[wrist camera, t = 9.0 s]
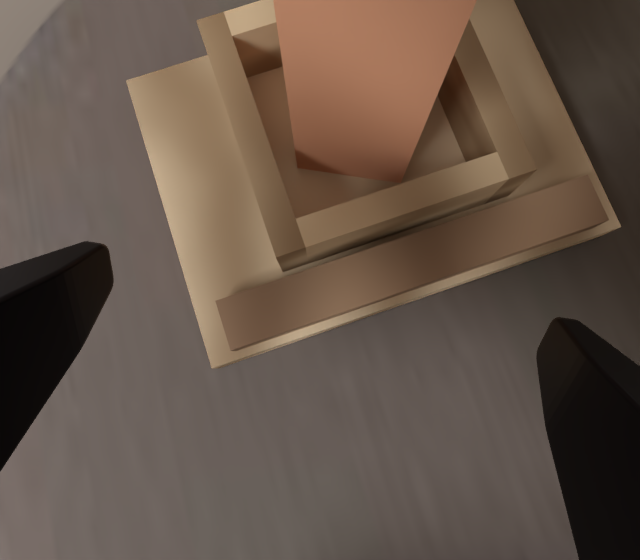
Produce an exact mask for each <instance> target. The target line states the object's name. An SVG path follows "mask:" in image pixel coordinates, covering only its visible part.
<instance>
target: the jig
mask: <svg viewBox="0 0 640 560" xmlns="http://www.w3.org/2000/svg"><path fill="white" fill-rule="evenodd" d="M196 21H197V24H198V27H199V30H200V33H201V36H202V39H203V42H204V45H205V48H206V51H207V54H208V55H206V56H203V57H200V58H196V59H193V60H190V61H187V62H184V63H180V64H177V65H174V66H171V67H168V68H165V69H161V70H158V71H155V72H152V73H149V74H145V75H142V76H139V77H136V78H133V79H130V80H126V82H127V85H128V89H129V92H130V95H131V99H132V102H133V105H134V109H135V112H136V115H137V119H138V122H139V125H140V129H141V132H142V136H143V139H144V142H145V146H146V149H147V152H148V156H149V159H150V162H151V166H152V169H153V173H154V176H155V179H156V183H157V186H158V189H159V193H160V196H161V199H162V203H163V206H164V209H165V213H166V216H167V220H168V223H169V226H170V230H171V233H172V236H173V240H174V243H175V246H176V250H177V253H178V256H179V260H180V263H181V267H182V270H183V273H184V277H185V280H186V283H187V287H188V290H189V293H190V297H191V300H192V304H193V307H194V310H195V314H196V317H197V320H198V324H199V327H200V330H201V334H202V337H203V340H204V344H205V347H206V351H207V354H208V357H209V361H210V364H211V367H212V369H213V368H221V367H224V366H227V365H230V364H233V363H236V362H239V361H242V360H244V359H247V358H250V357H253V356H256V355H259V354H262V353H265V352H268V351H270V350H273V349H276V348H279V347H282V346H285V345H288V344H291V343H294V342H296V341H299V340H302V339H305V338H308V337H311V336H314V335H317V334H320V333H322V332H325V331H328V330H331V329H334V328H337V327H340V326H343V325H346V324H348V323H351V322H354V321H357V320H360V319H363V318H366V317H369V316H372V315H374V314H377V313H380V312H383V311H386V310H389V309H392V308H395V307H398V306H400V305H403V304H406V303H409V302H412V301H415V300H418V299H421V298H424V297H426V296H429V295H432V294H435V293H438V292H441V291H444V290H447V289H450V288H452V287H455V286H458V285H461V284H464V283H467V282H470V281H473V280H476V279H478V278H481V277H484V276H487V275H490V274H493V273H496V272H499V271H502V270H504V269H507V268H510V267H513V266H516V265H519V264H522V263H525V262H528V261H530V260H533V259H536V258H539V257H542V256H545V255H548V254H551V253H554V252H556V251H559V250H562V249H565V248H568V247H571V246H574V245H577V244H580V243H582V242H585V241H588V240H591V239H594V238H597V237H600V236H603V235H605V234H607V233H609V232H611V231H614V230H616V229H618V228H620V227H621V225H620V223H619V221H618V219H617V217H616V214H615V212H614V210H613V208H612V206H611V204H610V202H609V200H608V198H607V195H606V193H605V191H604V189H603V187H602V185H601V183H600V181H599V179H598V177H597V174H596V172H595V170H594V168H593V166H592V164H591V162H590V160H589V158H588V155H587V153H586V151H585V149H584V147H583V145H582V143H581V141H580V139H579V137H578V134H577V132H576V130H575V128H574V126H573V124H572V122H571V120H570V118H569V115H568V113H567V111H566V109H565V107H564V105H563V103H562V101H561V99H560V96H559V94H558V92H557V90H556V88H555V86H554V84H553V82H552V80H551V78H550V75H549V73H548V71H547V69H546V67H545V65H544V63H543V61H542V59H541V56H540V54H539V52H538V50H537V48H536V46H535V44H534V42H533V40H532V38H531V35H530V33H529V31H528V29H527V27H526V25H525V23H524V21H523V19H522V16H521V14H520V12H519V10H518V8H517V6H516V4H515V2H514V0H477V1H476V3H475V6H474V8H473V11H472V13H471V16H470V18H469V20H468V23H467V25H466V28H465V30H464V32H463V35H462V37H461V40H460V42H459V44H458V47H457V49H456V52H455V54H454V56H453V59H452V61H451V64H450V66H449V68H448V71H447V73H446V76H445V78H444V80H443V83H442V85H441V88H440V90H439V92H438V95H437V97H436V100H435V102H434V104H433V107H432V109H431V112H430V114H429V116H428V119H427V121H426V124H425V126H424V128H423V131H422V133H421V136H420V138H419V140H418V143H417V145H416V148H415V150H414V152H413V155H412V157H411V160H410V162H409V164H408V167H407V169H406V172H405V174H404V176H403V179H402V181H401V183H396V182H389V181H382V180H375V179H368V178H362V177H355V176H348V175H341V174H334V173H328V172H321V171H314V170H307V169H300V168H297V161H296V154H295V147H294V140H293V134H292V127H291V120H290V113H289V106H288V99H287V92H286V85H285V78H284V71H283V64H282V58H281V51H280V44H279V37H278V30H277V23H276V16H275V9H274V2H273V0H260V1H257V2H254V3H251V4H248V5H244V6H241V7H238V8H235V9H231V10H228V11H225V12H222V13H219V14H215V15H212V16H209V17H206V18H202V19H199V20H196Z"/></svg>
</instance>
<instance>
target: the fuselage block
mask: <svg viewBox="0 0 640 560" xmlns="http://www.w3.org/2000/svg"><path fill="white" fill-rule="evenodd" d="M476 1H477V0H273V2H274V9H275V16H276V23H277V30H278V37H279V44H280V51H281V58H282V64H283V71H284V78H285V85H286V92H287V99H288V106H289V113H290V120H291V127H292V134H293V140H294V147H295V154H296V161H297V168H300V169H307V170H314V171H321V172H328V173H334V174H341V175H348V176H355V177H362V178H368V179H375V180H382V181H389V182H396V183H401V181H402V179H403V176H404V174H405V172H406V169H407V167H408V164H409V162H410V160H411V157H412V155H413V152H414V150H415V148H416V145H417V143H418V140H419V138H420V136H421V133H422V131H423V128H424V126H425V124H426V121H427V119H428V116H429V114H430V112H431V109H432V107H433V104H434V102H435V100H436V97H437V95H438V92H439V90H440V88H441V85H442V83H443V80H444V78H445V76H446V73H447V71H448V68H449V66H450V64H451V61H452V59H453V56H454V54H455V52H456V49H457V47H458V44H459V42H460V40H461V37H462V35H463V32H464V30H465V28H466V25H467V23H468V20H469V18H470V16H471V13H472V11H473V8H474V6H475V3H476Z"/></svg>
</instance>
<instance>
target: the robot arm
mask: <svg viewBox="0 0 640 560" xmlns="http://www.w3.org/2000/svg"><path fill="white" fill-rule="evenodd" d="M113 281H114V278H113V271H112V266H111V260H110V254H109V250H108V248H107V246H106V245H104V244H100V243H94V242H88V241H85V242H81V243H78V244H75V245H72V246H69V247H66V248H63V249H60V250H57V251H54V252H51V253H47V254H44V255H41V256H38V257H35V258H32V259H29V260H26V261H23V262H20V263H17V264H14V265H11V266H8V267H5V268H2V269H0V471H1V470H2V468H3V467H4V465H5V464H6V462H7V461H8V459H9V458H10V456H11V455H12V453H13V452H14V450H15V449H16V447H17V446H18V444H19V442H20V441H21V439H22V438H23V436H24V435H25V433H26V432H27V430H28V429H29V427H30V426H31V424H32V423H33V421H34V420H35V418H36V417H37V415H38V414H39V412H40V411H41V409H42V408H43V406H44V405H45V403H46V402H47V400H48V399H49V397H50V396H51V394H52V393H53V391H54V390H55V388H56V387H57V385H58V384H59V382H60V381H61V379H62V378H63V376H64V375H65V373H66V371H67V370H68V368H69V367H70V365H71V364H72V362H73V361H74V359H75V358H76V356H77V355H78V353H79V352H80V350H81V348H82V347H83V345H84V343H85V341H86V339H87V337H88V335H89V333H90V331H91V329H92V327H93V325H94V324H95V322H96V320H97V318H98V316H99V314H100V312H101V310H102V308H103V306H104V304H105V302H106V300H107V298H108V296H109V294H110V292H111V290H112V287H113ZM537 367H538V375H539V383H540V390H541V398H542V406H543V414H544V420H545V426H546V431H547V435H548V440H549V443H550V447H551V451H552V455H553V459H554V463H555V467H556V471H557V475H558V479H559V483H560V487H561V490H562V494H563V498H564V502H565V506H566V510H567V514H568V518H569V522H570V526H571V530H572V534H573V537H574V541H575V545H576V549H577V553H578V557H579V560H640V366H638V365H637V364H636V363H634V362H633V361H632V360H630V359H629V358H628V357H626V356H625V355H624V354H622V353H621V352H620V351H618V350H617V349H616V348H614V347H613V346H612V345H610V344H609V343H608V342H606V341H605V340H604V339H602V338H601V337H600V336H598V335H597V334H596V333H594V332H593V331H592V330H590V329H589V328H588V327H586V326H585V325H584V324H582V323H581V322H580V321H578V320H574V319H568V318H561V317H557V318H555V319H553V320H552V322H551V323H550V325H549V327H548V329H547V331H546V333H545V335H544V337H543V339H542V341H541V343H540V345H539V347H538V350H537Z"/></svg>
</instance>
